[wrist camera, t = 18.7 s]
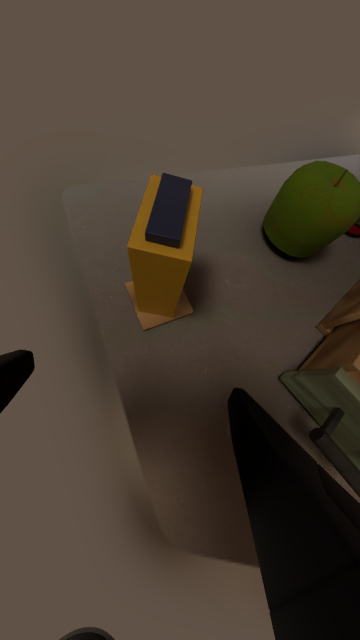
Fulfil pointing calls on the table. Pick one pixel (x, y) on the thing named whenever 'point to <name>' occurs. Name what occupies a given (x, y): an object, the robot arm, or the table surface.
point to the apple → (313, 208)
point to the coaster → (156, 320)
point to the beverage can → (355, 228)
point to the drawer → (334, 398)
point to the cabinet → (342, 311)
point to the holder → (164, 243)
